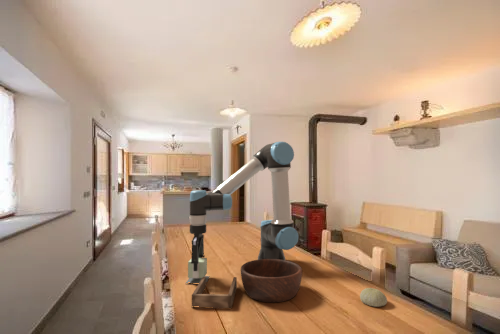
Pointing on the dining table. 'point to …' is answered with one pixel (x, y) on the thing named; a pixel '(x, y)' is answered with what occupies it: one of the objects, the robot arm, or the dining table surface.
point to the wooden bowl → (271, 279)
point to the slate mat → (196, 280)
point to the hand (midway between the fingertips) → (197, 274)
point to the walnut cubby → (213, 296)
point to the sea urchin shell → (373, 297)
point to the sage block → (201, 268)
